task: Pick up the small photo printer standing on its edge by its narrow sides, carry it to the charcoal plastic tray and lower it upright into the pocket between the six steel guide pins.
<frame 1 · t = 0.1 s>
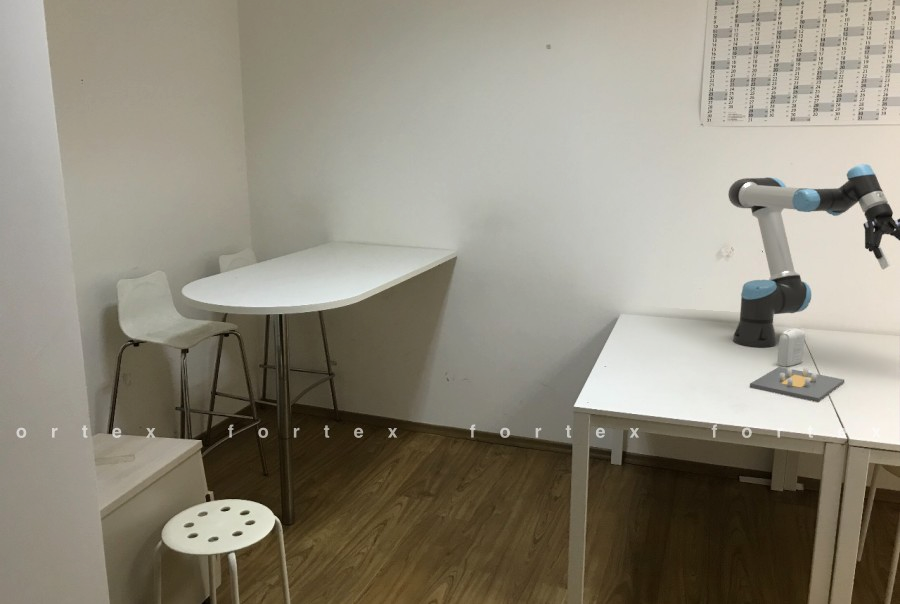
photo printer: (789, 364, 250), on the table
pin tray: (797, 385, 228), on the table
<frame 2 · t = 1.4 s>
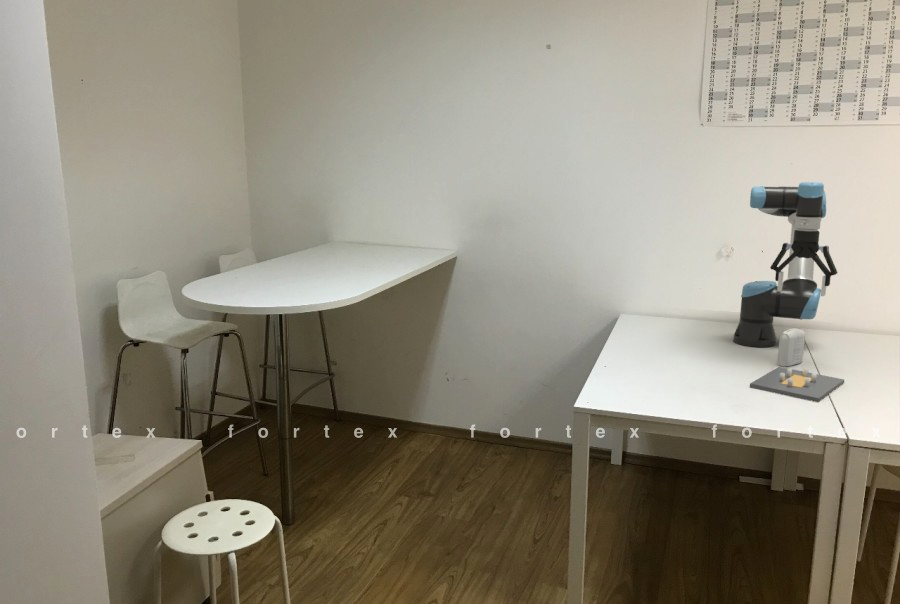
hand: (800, 293, 244), 25 cm above the table, tool pointing down, fingers open, 13 cm apart
nothing on the table moved.
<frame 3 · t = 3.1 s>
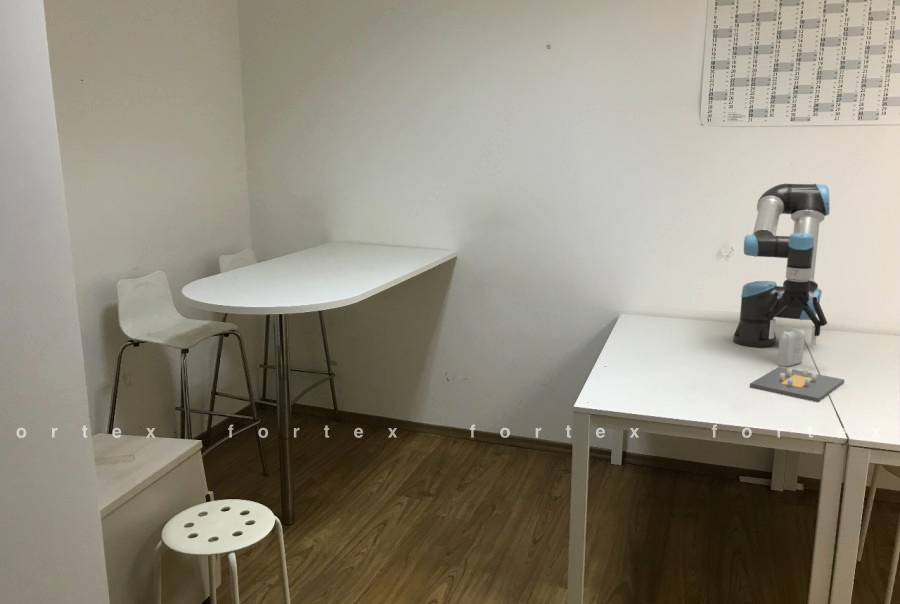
hand: (791, 341, 248), 8 cm above the table, tool pointing down, fingers open, 13 cm apart
nothing on the table moved.
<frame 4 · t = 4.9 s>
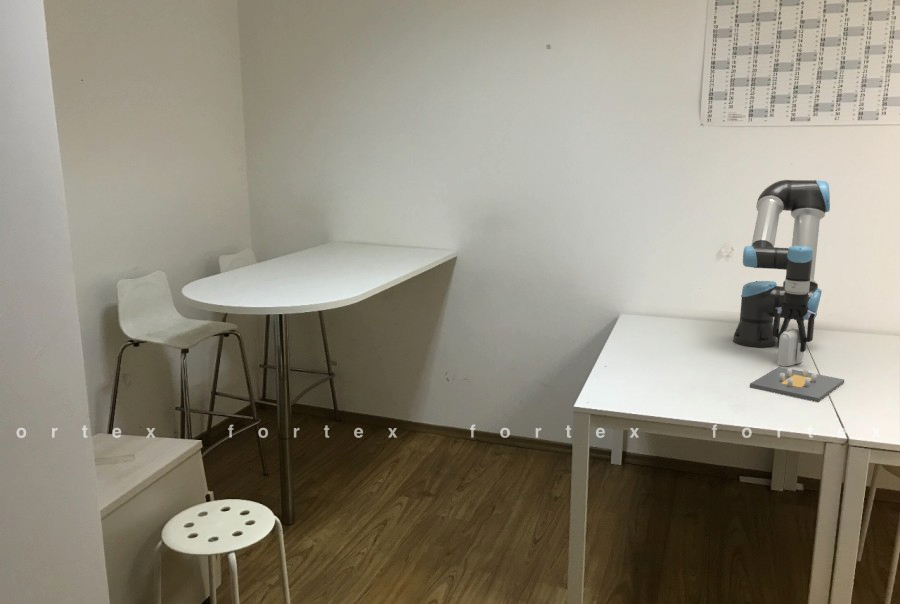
hand: (790, 358, 250), 2 cm above the table, tool pointing down, fingers closed on photo printer, 5 cm apart
photo printer: (789, 364, 250), on the table, touching gripper
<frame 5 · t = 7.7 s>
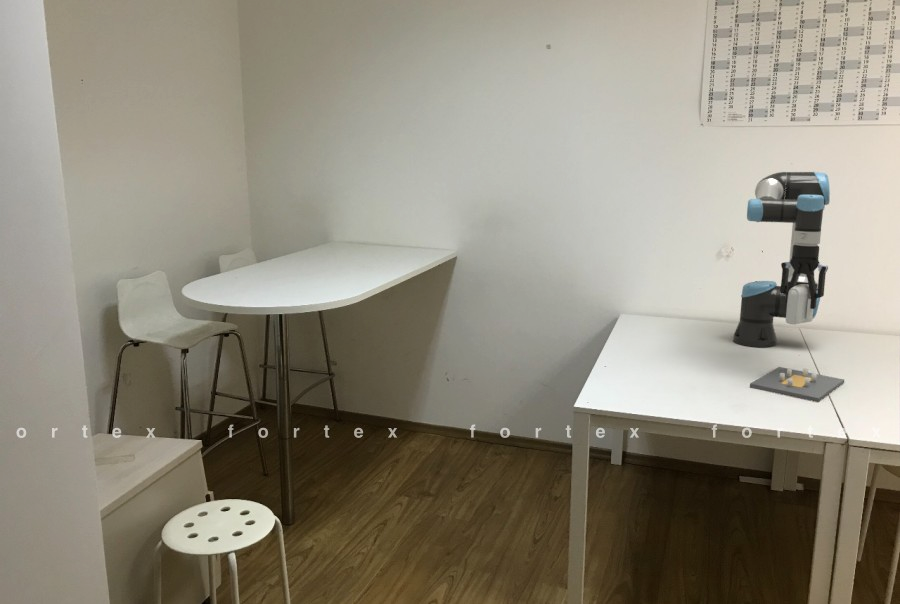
hand: (799, 317, 233), 20 cm above the table, tool pointing down, fingers closed on photo printer, 5 cm apart
photo printer: (798, 323, 233), point 18 cm above the table, touching gripper
when the fingers open (4 cm above the table, at t = 10.8 s): photo printer stays where it is, resting on pin tray.
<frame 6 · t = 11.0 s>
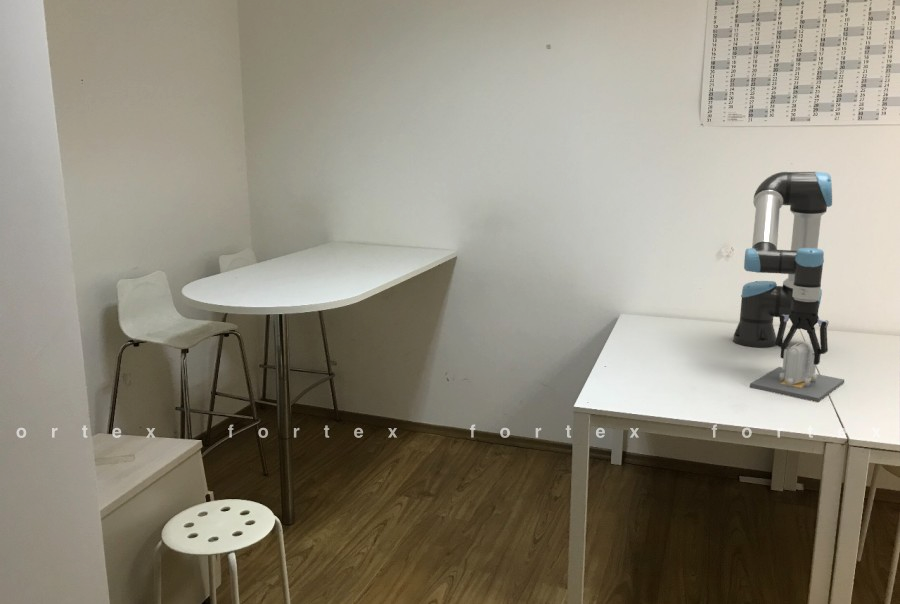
hand: (798, 371, 227), 5 cm above the table, tool pointing down, fingers open, 7 cm apart
photo printer: (797, 381, 228), point 1 cm above the table, touching pin tray
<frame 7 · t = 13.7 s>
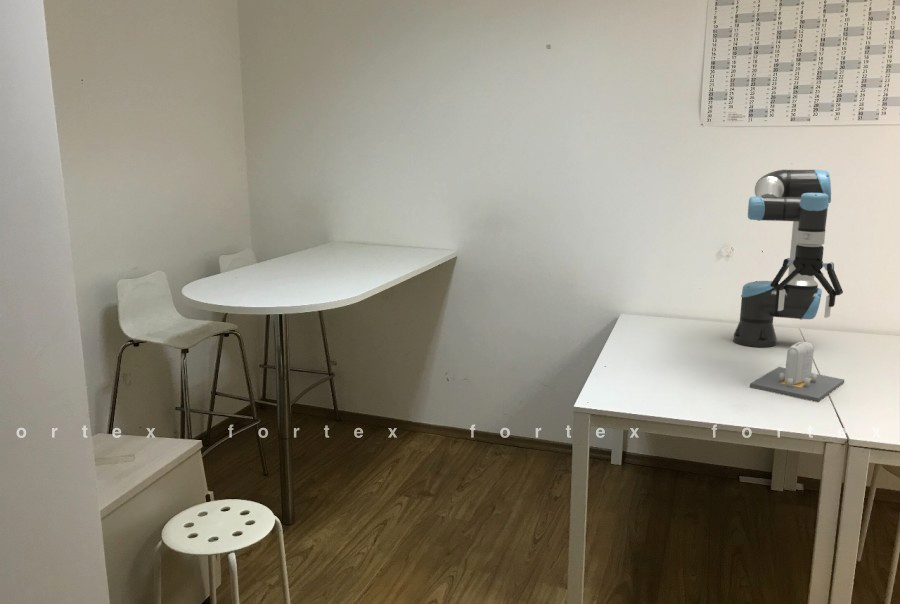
hand: (803, 313, 225), 23 cm above the table, tool pointing down, fingers open, 13 cm apart
nothing on the table moved.
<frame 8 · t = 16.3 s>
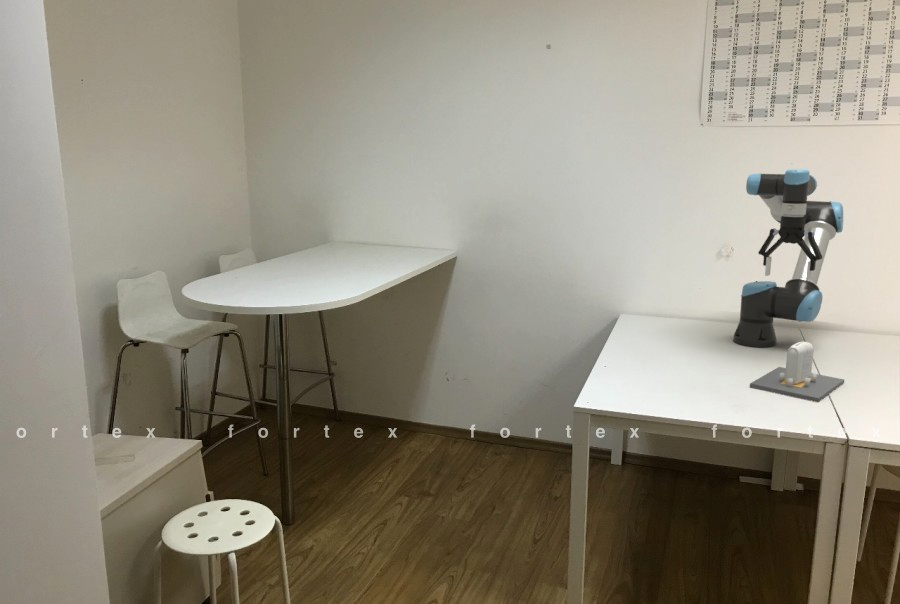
hand: (787, 277, 251), 29 cm above the table, tool pointing down, fingers open, 13 cm apart
nothing on the table moved.
at the end: photo printer 0.1 cm off-centre on the pin tray, point 1.2 cm above the pin tray's base; photo printer tilted 0°; the gripper is holding nothing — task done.
